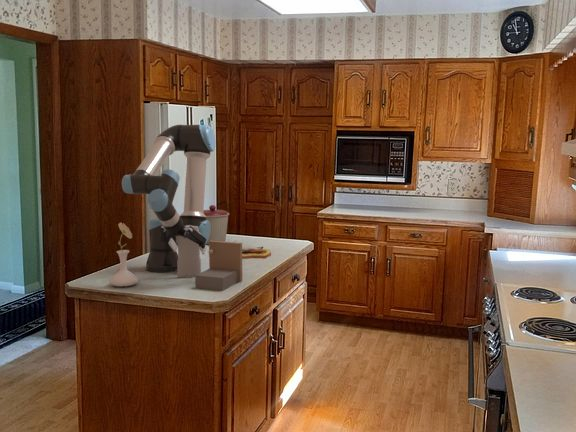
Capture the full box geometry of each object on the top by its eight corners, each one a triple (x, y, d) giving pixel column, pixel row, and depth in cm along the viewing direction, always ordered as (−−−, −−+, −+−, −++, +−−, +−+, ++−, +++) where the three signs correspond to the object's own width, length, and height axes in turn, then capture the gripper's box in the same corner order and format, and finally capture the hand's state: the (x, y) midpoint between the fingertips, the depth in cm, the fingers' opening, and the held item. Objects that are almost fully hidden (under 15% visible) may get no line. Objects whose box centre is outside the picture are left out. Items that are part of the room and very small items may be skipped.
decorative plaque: (205, 244, 289) (214, 237, 309) (206, 259, 290) (214, 250, 310) (268, 245, 286) (273, 238, 306) (268, 260, 287) (273, 252, 307)
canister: (230, 240, 336) (229, 203, 333) (229, 246, 318) (228, 207, 315) (197, 240, 335) (196, 203, 332) (195, 246, 317) (194, 207, 314)
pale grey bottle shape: (177, 278, 250) (175, 226, 247) (176, 276, 254) (175, 224, 251) (202, 277, 253) (201, 225, 249) (201, 274, 257) (200, 224, 253)
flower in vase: (140, 287, 236) (138, 224, 232) (110, 290, 232) (107, 226, 228) (136, 279, 248) (134, 219, 244) (107, 282, 244) (105, 221, 240)
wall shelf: (193, 287, 236) (192, 247, 234) (211, 278, 251) (211, 240, 249) (225, 290, 231) (225, 250, 229) (242, 281, 246) (242, 242, 244)
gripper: (140, 226, 238) (161, 255, 255) (196, 229, 230) (214, 260, 246) (147, 211, 243) (167, 241, 259) (202, 214, 234) (219, 245, 251)
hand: (190, 250), depth 253 cm, fingers open, 13 cm apart
